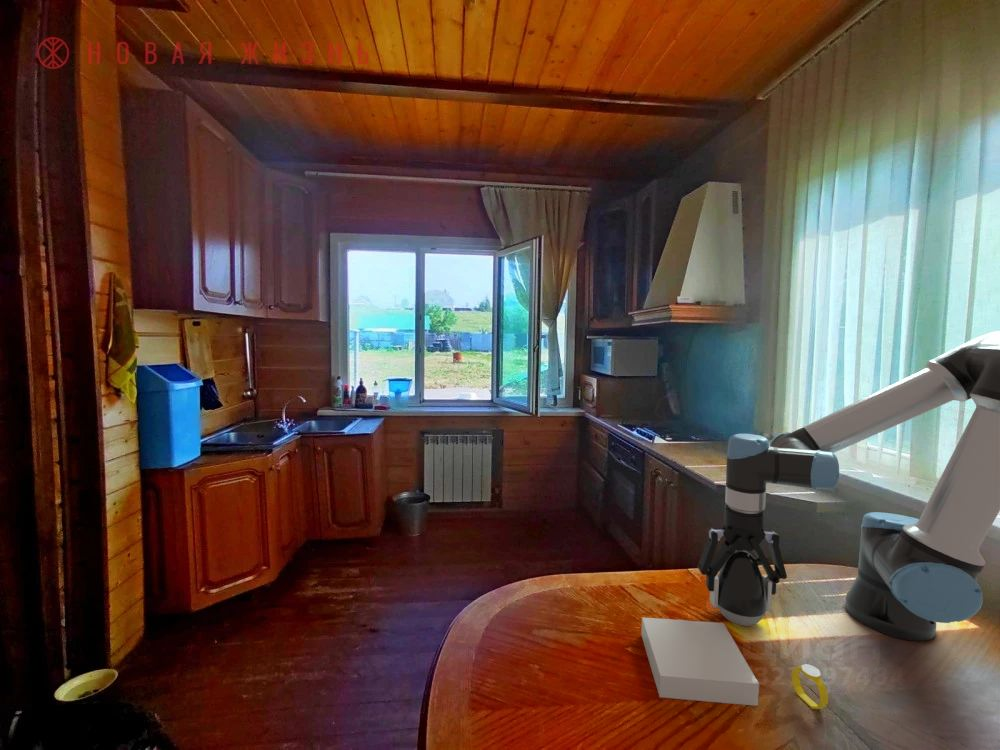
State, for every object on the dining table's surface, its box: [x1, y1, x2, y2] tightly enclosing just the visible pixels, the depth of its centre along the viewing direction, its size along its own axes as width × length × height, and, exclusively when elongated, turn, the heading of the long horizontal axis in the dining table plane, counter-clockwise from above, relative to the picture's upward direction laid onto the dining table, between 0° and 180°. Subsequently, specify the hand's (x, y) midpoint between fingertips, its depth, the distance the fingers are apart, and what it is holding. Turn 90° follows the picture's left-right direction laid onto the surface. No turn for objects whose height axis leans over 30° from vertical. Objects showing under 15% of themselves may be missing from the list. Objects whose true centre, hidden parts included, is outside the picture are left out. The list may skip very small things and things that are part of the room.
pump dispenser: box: [717, 550, 770, 627], centre depth 99 cm, size 10×10×15 cm
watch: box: [790, 663, 829, 710], centre depth 78 cm, size 6×3×6 cm, turn 12°
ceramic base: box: [640, 617, 760, 707], centre depth 86 cm, size 16×16×4 cm
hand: (739, 605), depth 100 cm, fingers closed on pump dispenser, 10 cm apart
